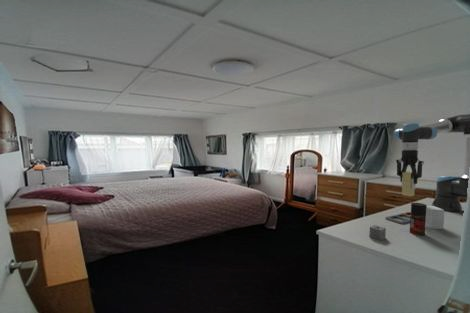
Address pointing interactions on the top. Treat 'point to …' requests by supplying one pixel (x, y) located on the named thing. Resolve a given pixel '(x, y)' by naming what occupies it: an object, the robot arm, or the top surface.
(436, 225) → the small box
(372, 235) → the dice cube
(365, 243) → the top surface
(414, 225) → the deodorant
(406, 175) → the tan wooden beam
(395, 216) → the grey flat frame
